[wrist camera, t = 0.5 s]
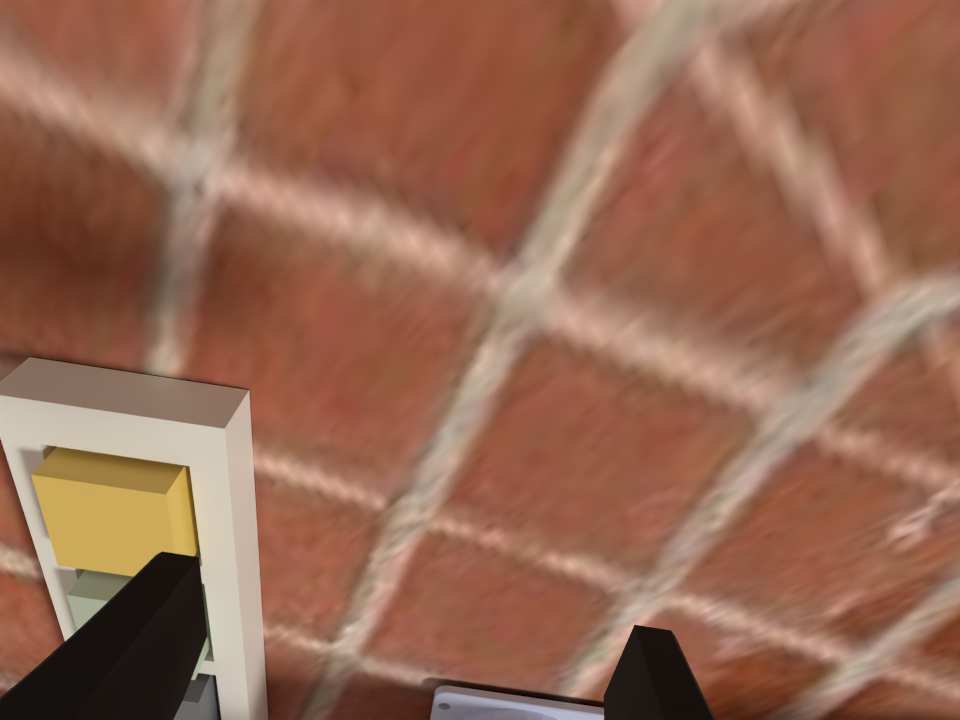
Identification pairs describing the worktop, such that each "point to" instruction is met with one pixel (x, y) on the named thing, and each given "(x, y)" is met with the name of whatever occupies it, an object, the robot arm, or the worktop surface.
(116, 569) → the ochre button
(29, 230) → the worktop surface
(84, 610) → the sage button
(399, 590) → the worktop surface
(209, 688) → the charcoal button
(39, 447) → the button panel
